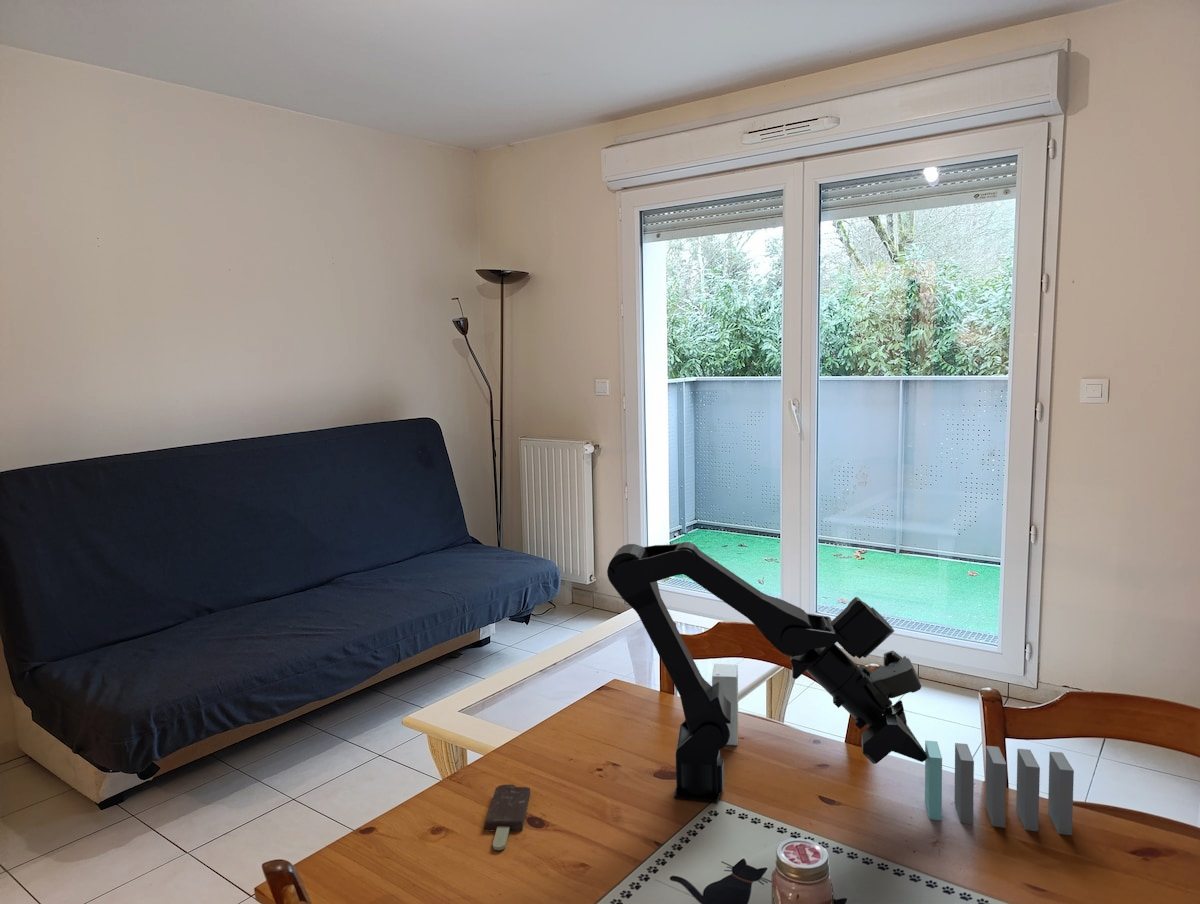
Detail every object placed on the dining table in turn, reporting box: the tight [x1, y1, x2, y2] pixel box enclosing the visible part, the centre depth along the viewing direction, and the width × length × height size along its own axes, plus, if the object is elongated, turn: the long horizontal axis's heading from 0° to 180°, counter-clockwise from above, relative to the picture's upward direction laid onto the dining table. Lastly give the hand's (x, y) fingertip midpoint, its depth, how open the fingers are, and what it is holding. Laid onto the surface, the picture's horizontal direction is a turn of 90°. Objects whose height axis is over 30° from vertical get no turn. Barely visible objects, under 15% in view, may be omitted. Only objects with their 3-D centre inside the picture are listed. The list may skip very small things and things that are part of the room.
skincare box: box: [711, 663, 739, 746], centre depth 133 cm, size 6×4×12 cm
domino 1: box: [953, 742, 975, 825], centre depth 109 cm, size 2×5×9 cm, turn 164°
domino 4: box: [1047, 751, 1075, 836], centre depth 105 cm, size 2×5×9 cm, turn 164°
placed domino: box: [924, 740, 943, 821], centre depth 110 cm, size 2×5×9 cm, turn 164°
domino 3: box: [1015, 748, 1041, 832], centre depth 106 cm, size 2×5×9 cm, turn 164°
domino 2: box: [984, 745, 1008, 828], centre depth 107 cm, size 2×5×9 cm, turn 164°
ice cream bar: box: [484, 784, 531, 851], centre depth 111 cm, size 5×2×15 cm
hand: (924, 758), depth 110 cm, fingers closed
